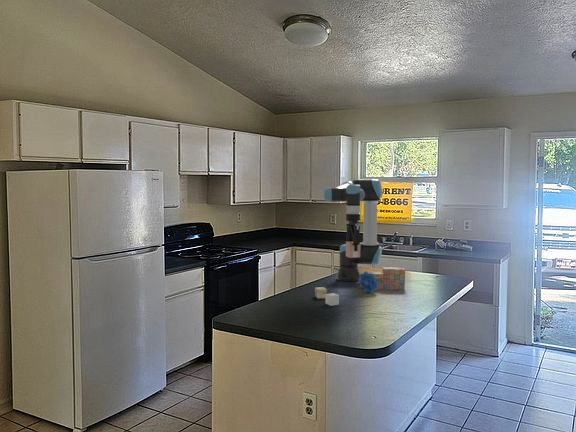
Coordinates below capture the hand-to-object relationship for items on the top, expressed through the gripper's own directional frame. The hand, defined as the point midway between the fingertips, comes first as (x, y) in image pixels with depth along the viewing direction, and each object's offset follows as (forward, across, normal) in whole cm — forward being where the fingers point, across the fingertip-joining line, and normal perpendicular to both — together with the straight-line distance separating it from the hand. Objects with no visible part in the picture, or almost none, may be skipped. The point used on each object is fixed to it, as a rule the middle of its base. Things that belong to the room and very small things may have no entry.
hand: (352, 256), depth 271 cm
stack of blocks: (+23, -19, +28) cm, 41 cm away
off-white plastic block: (+23, +10, -15) cm, 29 cm away
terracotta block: (0, 0, 0) cm, 0 cm away
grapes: (+23, -10, +13) cm, 28 cm away
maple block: (+23, -6, -16) cm, 29 cm away
